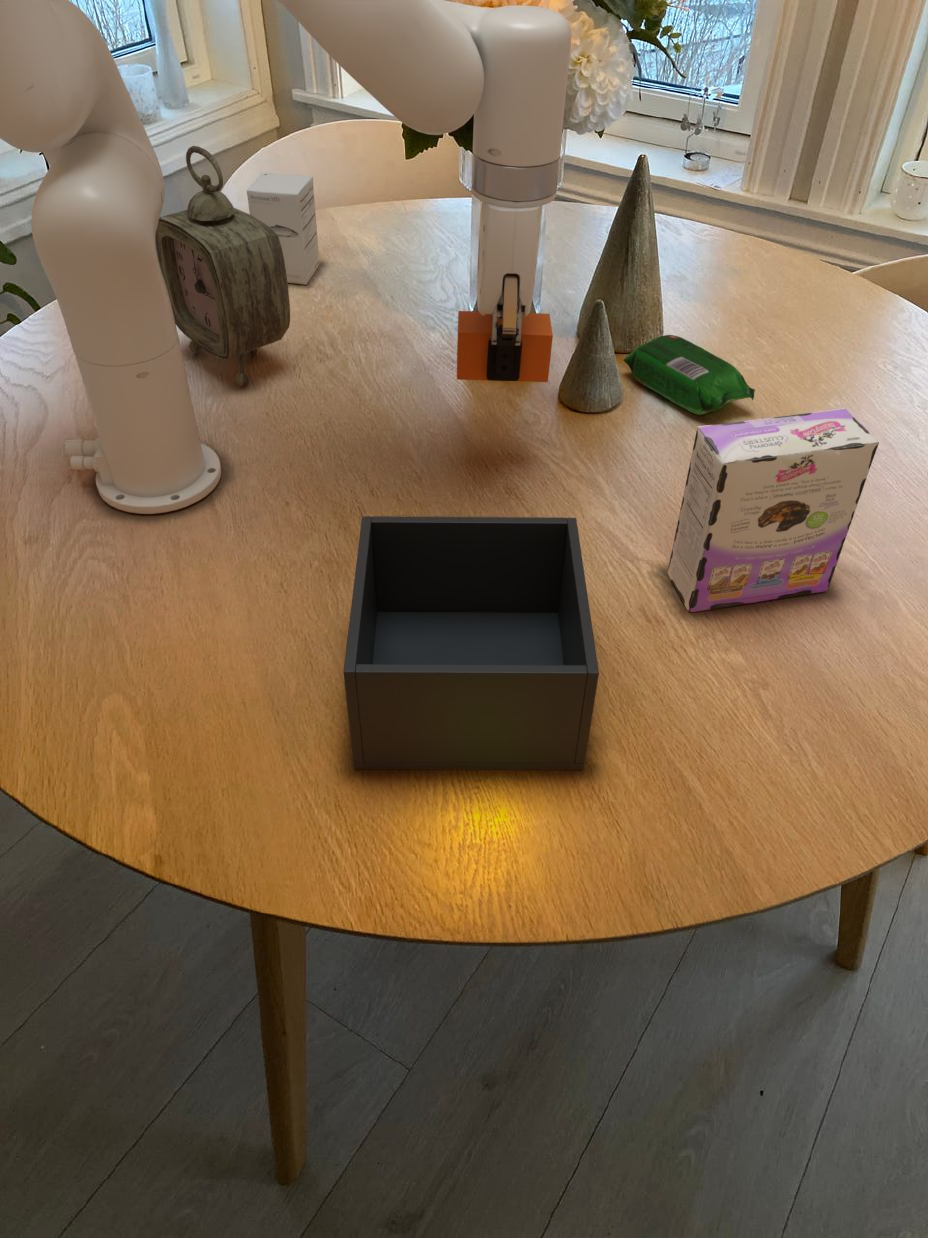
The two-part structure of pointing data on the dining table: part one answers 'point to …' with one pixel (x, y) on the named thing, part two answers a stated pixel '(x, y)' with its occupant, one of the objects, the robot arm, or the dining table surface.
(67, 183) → the robot arm
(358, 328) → the dining table surface
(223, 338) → the tabletop clock
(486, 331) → the orange rectangular block
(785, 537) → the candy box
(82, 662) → the dining table surface
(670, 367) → the snack package
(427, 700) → the open box bin
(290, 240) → the white packaging box
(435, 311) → the dining table surface
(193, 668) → the dining table surface
